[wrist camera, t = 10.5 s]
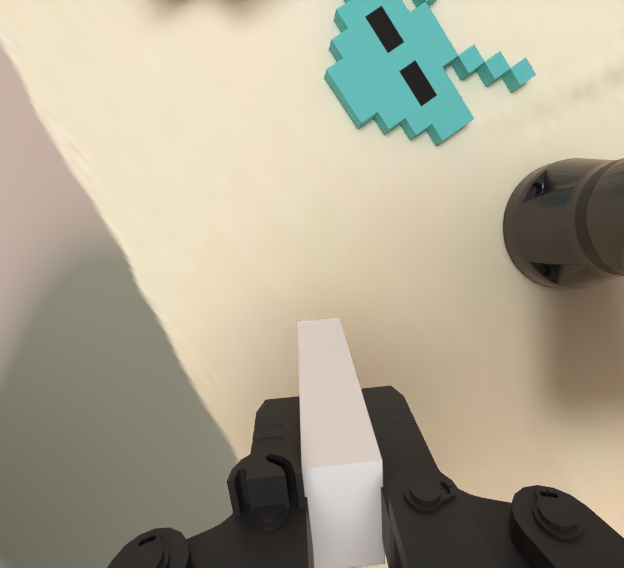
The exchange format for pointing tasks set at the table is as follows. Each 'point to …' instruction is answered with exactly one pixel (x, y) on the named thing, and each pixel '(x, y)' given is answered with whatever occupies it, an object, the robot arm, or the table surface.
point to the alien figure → (406, 68)
